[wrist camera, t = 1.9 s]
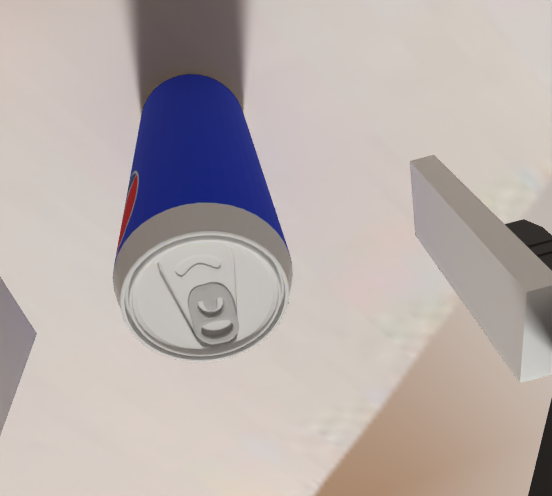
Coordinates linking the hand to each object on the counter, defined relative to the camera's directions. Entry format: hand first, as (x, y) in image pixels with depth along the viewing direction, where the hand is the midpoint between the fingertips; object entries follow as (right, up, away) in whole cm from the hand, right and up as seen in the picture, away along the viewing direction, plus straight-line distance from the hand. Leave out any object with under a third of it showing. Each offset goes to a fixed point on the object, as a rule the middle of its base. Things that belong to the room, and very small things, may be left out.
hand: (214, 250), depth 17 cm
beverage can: (-2, +7, +11) cm, 13 cm away
